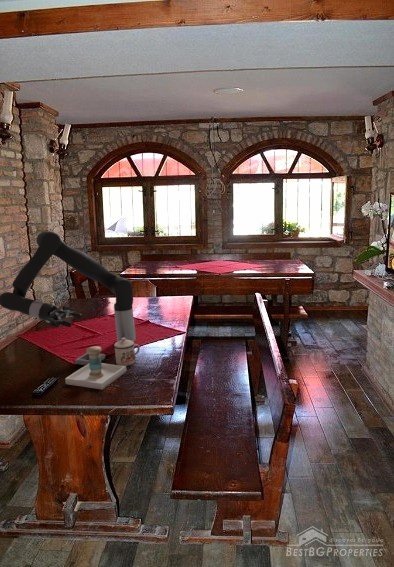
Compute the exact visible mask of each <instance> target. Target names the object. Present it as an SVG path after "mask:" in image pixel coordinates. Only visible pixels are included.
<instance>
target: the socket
mask: <svg viewBox="0 0 394 567" xmlns="http://www.w3.org/2000/svg"><path fill="white" fill-rule="evenodd" d="M100 358H101V362H102V361H104V359H106V353H100ZM74 362H75V364H76V365H82V366H86V365H87V364H89V354H87V353H85V354H83V355H81V356H79V357H77V358H76V359H75V360H74Z"/></svg>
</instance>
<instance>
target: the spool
mask: <svg viewBox="0 0 394 567" xmlns="http://www.w3.org/2000/svg"><path fill="white" fill-rule="evenodd" d="M85 350H86V351H85V352H86V353H87V354H89V358H88V360H89V366H90V370H91V372H90V373H89V377H90V378H91V379H98V378H101V377H103V376H104V372H103V371H101V368H102V367H101V363H102V361H101V358H100V354H101V352H102V347H101V346H97V345H96V346H90V347H88V348H86V349H85ZM86 353H85V354H86Z"/></svg>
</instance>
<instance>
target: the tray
mask: <svg viewBox="0 0 394 567" xmlns="http://www.w3.org/2000/svg"><path fill="white" fill-rule="evenodd" d="M101 367H102V368H101V371H103V372H104V376H103V377H101V378H98V379H91V378H90V377H89V373H90V372H91V370H90V366H89V364H87V365H83V367H81V368H79V369H77V370H76V371H74V372H73V373H72V374H70V375H68V376H67V377H66V378H64V380H65V381H64V382H65V385H69V386H70V385H71V386H77V387H81V388H83V387H84V388H89V389H90V388H91V389H97V390H104V389H105V388H107V387H108V386H110V385H111V384H112V383H113V382H115V381H116V380H117V379H119V378H121V377H122V375H124V374H126V372H127V366H121V365H117V364H111V363H103V362H101Z"/></svg>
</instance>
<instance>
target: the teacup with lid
mask: <svg viewBox="0 0 394 567" xmlns="http://www.w3.org/2000/svg"><path fill="white" fill-rule="evenodd" d="M113 347H114V353H115V354H114V355H115V363H116V364H115V365H121V366H126V367H128V366H131V365H133V364H134V363H136V355H138V354H139V352H140V349H141V346H140V345H139V344H137V343H135V341H134V342H133V341H131V340H127V339H126V338H122V339H121V340H120V341H118V342H117V341H116V342H115V343H114V345H113ZM135 347H137V349H136V352H135Z"/></svg>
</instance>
